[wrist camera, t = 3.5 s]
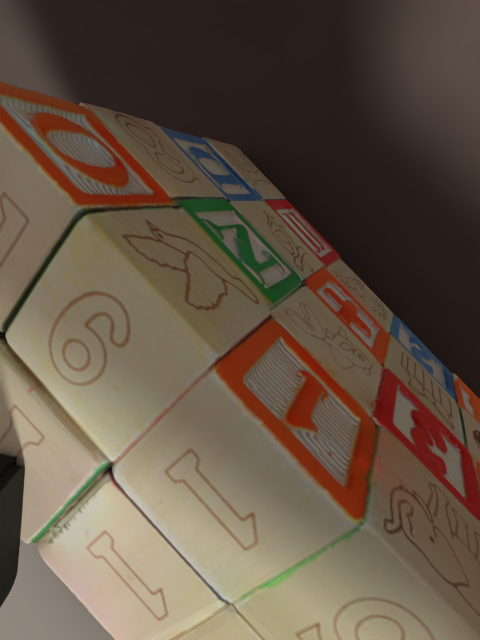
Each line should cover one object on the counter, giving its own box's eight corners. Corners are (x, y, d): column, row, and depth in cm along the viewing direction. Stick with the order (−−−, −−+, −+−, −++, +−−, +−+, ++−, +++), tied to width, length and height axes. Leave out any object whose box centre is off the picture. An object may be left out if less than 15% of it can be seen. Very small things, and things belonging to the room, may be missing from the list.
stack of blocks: (633, 550, 16) (1096, 1295, 5) (484, 612, 19) (585, 1195, 8) (233, 141, 18) (-68, 53, 7) (145, 253, 20) (-174, 324, 9)
